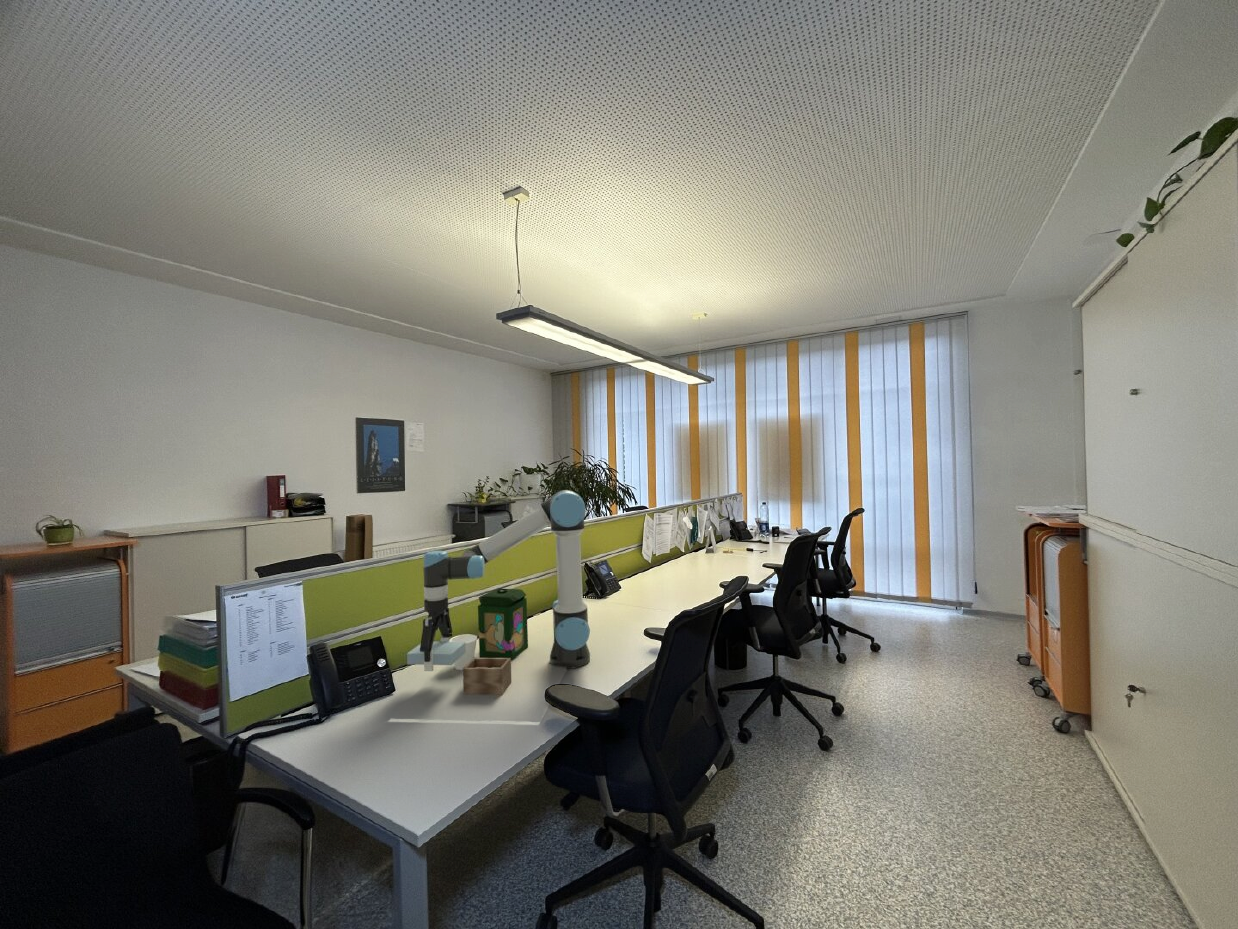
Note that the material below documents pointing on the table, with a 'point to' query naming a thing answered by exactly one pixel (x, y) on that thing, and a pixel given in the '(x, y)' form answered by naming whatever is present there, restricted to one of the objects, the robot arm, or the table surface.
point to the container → (502, 623)
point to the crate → (487, 676)
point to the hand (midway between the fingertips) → (437, 663)
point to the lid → (438, 653)
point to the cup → (470, 649)
